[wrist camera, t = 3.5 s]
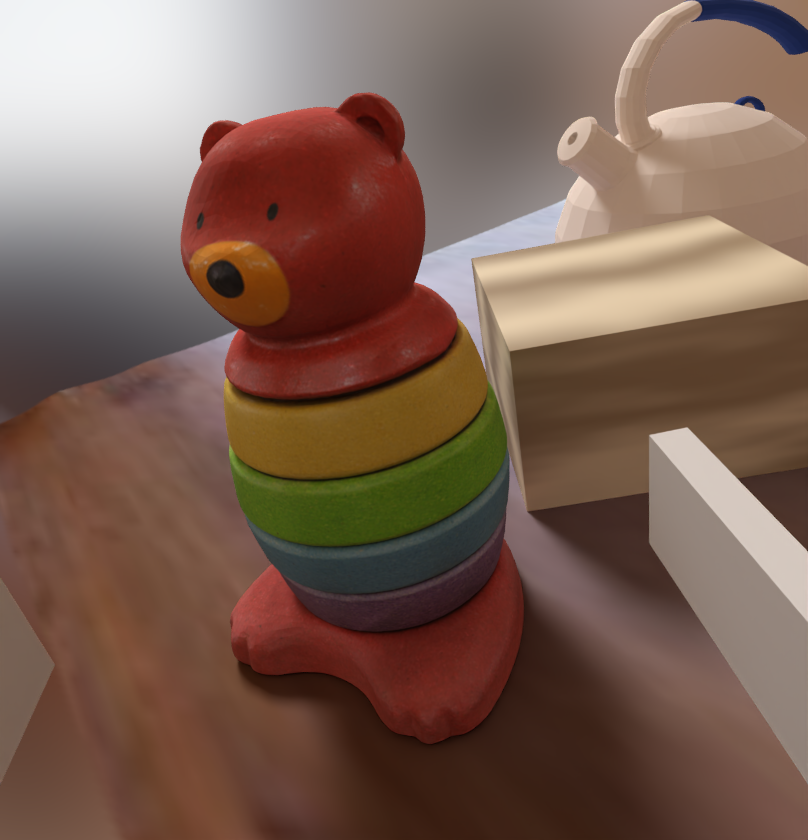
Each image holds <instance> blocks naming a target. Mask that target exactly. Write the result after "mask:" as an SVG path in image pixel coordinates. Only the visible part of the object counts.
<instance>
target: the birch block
mask: <svg viewBox="0 0 808 840" xmlns="http://www.w3.org/2000/svg"><path fill="white" fill-rule="evenodd" d="M471 260H472V268H473V275H474V283H475V291H476V298H477V306H478V314H479V321H480V329H481V336H482V344H483V352H484V359H485V367H486V375H487V380H488V381H489V382H490V384H491V386H492V387H493V389H494V392H495V395H496V398H497V401H498V404H499V407H500V410H501V414H502V417H503V421H504V425H505V429H506V433H507V447H508V451H509V454H510V457H511V460H512V464H513V467H514V470H515V473H516V477H517V480H518V483H519V486H520V490H521V493H522V496H523V499H524V503H525V506H526V509H527V511H534V510H540V509H546V508H553V507H559V506H565V505H572V504H578V503H584V502H591V501H597V500H603V499H610V498H616V497H622V496H629V495H635V494H641V493H648V492H649V435H652V434H657V433H662V432H667V431H672V430H677V429H682V428H688V429H689V430H690V431H691V432H692V433H693V434H694V435H695V436H696V437H697V438H698V439H699V440H700V441H701V442H702V443H703V444H704V445H705V446H706V447H707V448H708V449H709V450H710V451H711V452H712V453H713V454H714V455H715V456H716V457H717V458H718V459H719V460H720V461H721V463H722V464H723V465H724V466H725V467H726V468H727V469H728V470H729V471H730V472H731V473H732V474H733V475H734V476H735V477H736V478H743V477H749V476H755V475H762V474H768V473H774V472H781V471H787V470H793V469H800V468H806V467H808V266H806V265H805V264H803V263H801V262H799V261H797V260H795V259H793V258H791V257H789V256H787V255H785V254H783V253H781V252H779V251H777V250H775V249H773V248H771V247H770V246H768V245H766V244H764V243H762V242H760V241H758V240H756V239H754V238H752V237H750V236H748V235H746V234H744V233H742V232H740V231H738V230H737V229H735V228H733V227H731V226H729V225H727V224H725V223H723V222H721V221H719V220H717V219H715V218H713V217H711V216H709V215H707V216H701V217H696V218H690V219H685V220H679V221H674V222H668V223H663V224H658V225H652V226H647V227H641V228H636V229H630V230H625V231H619V232H614V233H608V234H603V235H598V236H592V237H587V238H581V239H576V240H570V241H565V242H559V243H554V244H549V245H543V246H538V247H532V248H527V249H521V250H516V251H510V252H505V253H499V254H494V255H489V256H483V257H478V258H472V259H471Z"/></svg>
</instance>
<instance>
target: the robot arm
mask: <svg viewBox="0 0 808 840" xmlns="http://www.w3.org/2000/svg"><path fill="white" fill-rule="evenodd" d="M649 544H650V545H651V547H652V548H653V550H654V551H655V553H656V554H657V556H658V557H659V559H660V560H661V562H662V563H663V565H664V567H665V568H666V570H667V571H668V573H669V574H670V576H671V577H672V579H673V580H674V582H675V583H676V585H677V586H678V588H679V589H680V591H681V592H682V594H683V595H684V597H685V598H686V600H687V601H688V603H689V604H690V606H691V607H692V609H693V611H694V612H695V614H696V615H697V617H698V618H699V620H700V621H701V623H702V624H703V626H704V627H705V629H706V630H707V632H708V633H709V635H710V636H711V638H712V639H713V641H714V642H715V644H716V645H717V647H718V648H719V650H720V652H721V653H722V655H723V656H724V658H725V659H726V661H727V662H728V664H729V665H730V667H731V668H732V670H733V671H734V673H735V674H736V676H737V677H738V679H739V680H740V682H741V683H742V685H743V686H744V688H745V689H746V691H747V692H748V694H749V696H750V697H751V699H752V700H753V702H754V703H755V705H756V706H757V708H758V709H759V711H760V712H761V714H762V715H763V717H764V718H765V720H766V721H767V723H768V724H769V726H770V727H771V729H772V730H773V732H774V733H775V735H776V736H777V738H778V740H779V741H780V743H781V744H782V746H783V747H784V749H785V750H786V752H787V753H788V755H789V756H790V758H791V759H792V761H793V762H794V764H795V765H796V767H797V768H798V770H799V771H800V773H801V774H802V776H803V777H804V779H805V780H806V782H807V784H808V551H807V550H806V549H805V548H804V547H803V546H802V545H801V544H800V543H799V542H798V541H797V540H796V539H795V538H794V537H793V536H792V535H791V534H790V533H789V532H788V531H787V529H786V528H785V527H784V526H783V525H782V524H781V523H780V522H779V521H778V520H777V519H776V518H775V517H774V516H773V515H772V514H771V513H770V512H769V511H768V510H767V509H766V508H765V507H764V506H763V505H762V504H761V503H760V502H759V501H758V500H757V499H756V498H755V497H754V495H753V494H752V493H751V492H750V491H749V490H748V489H747V488H746V487H745V486H744V485H743V484H742V483H741V482H740V481H739V480H738V479H737V478H736V477H735V476H734V475H733V474H732V473H731V472H730V471H729V470H728V469H727V468H726V467H725V466H724V465H723V464H722V463H721V461H720V460H719V459H718V458H717V457H716V456H715V455H714V454H713V453H712V452H711V451H710V450H709V449H708V448H707V447H706V446H705V445H704V444H703V443H702V442H701V441H700V440H699V439H698V438H697V437H696V436H695V435H694V434H693V433H692V432H691V431H690V430H689V429H688V428H682V429H677V430H672V431H667V432H662V433H657V434H652V435H649ZM54 666H55V664H54V663H53V661H52V659H51V658H50V656H49V655H48V653H47V651H46V650H45V648H44V647H43V645H42V643H41V642H40V640H39V639H38V637H37V636H36V634H35V632H34V631H33V629H32V627H31V626H30V624H29V623H28V621H27V619H26V618H25V616H24V615H23V613H22V611H21V610H20V608H19V607H18V605H17V604H16V602H15V600H14V599H13V597H12V595H11V594H10V592H9V590H8V589H7V587H6V586H5V584H4V583H3V581H2V579H1V578H0V784H1V781H2V780H3V777H4V775H5V773H6V771H7V768H8V766H9V764H10V762H11V760H12V758H13V755H14V753H15V751H16V749H17V747H18V744H19V742H20V740H21V738H22V736H23V734H24V731H25V729H26V727H27V725H28V722H29V720H30V718H31V716H32V714H33V712H34V709H35V707H36V705H37V703H38V701H39V698H40V696H41V694H42V692H43V690H44V687H45V685H46V683H47V681H48V679H49V676H50V674H51V672H52V670H53V668H54Z"/></svg>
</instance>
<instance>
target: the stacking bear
mask: <svg viewBox="0 0 808 840" xmlns="http://www.w3.org/2000/svg"><path fill="white" fill-rule="evenodd" d="M404 139H405V131H404V125H403V121H402V118H401V116H400V114H399V112H398V111H397V109H396V108H395V107H394V106H393V105H392V104H391V103H390V102H389V101H388V100H386V99H385V98H383V97H381V96H379V95H377V94H374V93H357V94H354V95H352V96H350V97H349V98H347V99H346V100H345V101H344V102H343V103H342V104H341V105H340V107H339V108H330V107H314V108H307V109H301V110H295V111H291V112H286V113H282V114H277V115H273V116H269V117H265V118H261V119H257V120H254V121H251V122H249V123H246V124H244V125H241V124H239V123H237V122H233V121H228V120H226V121H217V122H214V123H213V124H211V125H210V126H209V127H208V129H207V130H206V132H205V134H204V136H203V139H202V144H201V147H200V155H201V161H202V163H201V165H200V167H199V169H198V172H197V174H196V175H195V178H194V180H193V183H192V186H191V190H190V193H189V196H188V200H187V204H186V209H185V214H184V219H183V225H182V232H181V255H182V260H183V264H184V267H185V270H186V272H187V275H188V276H189V278H190V280H191V281H192V283H193V284H194V286H195V287H196V288H197V290H198V291H199V293H200V294H201V295H202V296H203V298H204V299H205V300H206V301H207V302H208V303H209V304H210V305H211V306H212V307H213V308H214V309H215V310H216V311H217V312H218V313H219V314H220V315H221V316H223V317H224V318H225V319H226V320H228V321H229V322H230V323H232V324H233V325H235V326H236V327H238V328H239V330H238V332H237V333H236V335H235V336H234V338H233V340H232V342H231V344H230V347H229V350H228V353H227V356H226V360H225V373H226V376H227V377H226V380H225V383H224V409H225V419H226V427H227V433H228V439H229V442H230V447H229V458H230V464H231V471H232V475H233V480H234V484H235V489H236V493H237V497H238V500H239V504H240V506H241V508H242V510H243V512H244V513H245V516H246V519H247V522H248V525H249V527H250V529H251V531H252V532H253V534H254V536H255V538H256V540H257V541H258V543H259V545H260V546H261V548H262V550H263V551H264V553H265V554H266V556H267V558H268V559H269V561H270V562H271V563H272V564H271V565H270V566H269V567H268V568H267V569H266V570H265V571H264V572H263V573H262V574H261V575H260V576H259V577H258V578H257V579H256V580H255V581H254V582H253V584H252V585H251V586H250V587H249V588H248V590H247V591H246V592H245V593H244V594H243V596H242V597H241V598H240V600H239V601H238V603H237V605H236V606H235V608H234V610H233V612H232V614H231V618H230V624H231V629H232V632H231V642H232V649H233V653H234V655H235V657H236V658H237V659H238V660H239V661H241V662H243V663H245V664H248V665H251V667H252V669H253V670H254V671H256V672H258V673H260V674H267V675H281V674H288V673H297V672H319V673H326V674H329V675H333V676H336V677H339V678H341V679H343V680H345V681H347V682H349V683H351V684H353V685H354V686H356V687H357V688H358V689H360V690H361V691H362V692H363V693H364V694H365V695H366V696H367V698H368V699H369V700H370V702H371V704H372V705H373V707H374V708H375V710H376V712H377V714H378V716H379V717H380V719H381V720H382V722H383V723H384V724H385V725H386V726H387V727H388V728H389V729H390V730H392V731H393V732H395V733H398V734H402V735H409V736H414V737H416V738H418V739H419V740H420V741H422V742H424V743H427V744H432V743H436V742H439V741H442V740H444V739H446V738H448V737H450V736H453V735H461V734H464V733H466V732H469V731H470V730H472V729H473V728H475V727H476V726H477V725H479V724H480V723H481V722H482V721H483V720H484V719H485V718H486V717H487V715H488V714H489V713H490V711H491V710H492V708H493V707H494V705H495V703H496V701H497V700H498V698H499V696H500V695H501V693H502V691H503V688H504V686H505V684H506V682H507V680H508V678H509V676H510V673H511V670H512V668H513V665H514V663H515V659H516V656H517V653H518V650H519V646H520V641H521V635H522V629H523V619H524V602H523V592H522V585H521V580H520V577H519V573H518V570H517V566H516V563H515V560H514V558H513V555H512V553H511V550H510V548H509V547H508V545H507V543H506V541H505V540H504V532H505V522H506V506H507V501H508V490H509V452H508V447H507V433H506V429H505V425H504V421H503V417H502V414H501V410H500V407H499V404H498V401H497V398H496V395H495V392H494V389H493V387H492V386H491V384H490V382H489V381H488V380H487V375H486V372H485V369H484V366H483V363H482V360H481V357H480V355H479V353H478V351H477V348H476V346H475V344H474V342H473V340H472V338H471V336H470V334H469V332H468V330H467V328H466V327H465V326H464V324H463V323H462V322H461V321H460V320H459V319H458V318H457V316H456V313H455V311H454V310H453V308H452V307H451V306H450V305H449V304H448V303H447V302H446V301H445V300H444V299H443V298H442V297H441V296H440V295H439V294H437V293H436V292H434V291H433V290H432V289H430V288H428V287H426V286H424V285H421V284H418V283H415V282H414V281H415V279H416V276H417V273H418V270H419V266H420V263H421V260H422V253H423V247H424V241H425V210H424V202H423V195H422V191H421V187H420V184H419V180H418V177H417V175H416V172H415V170H414V168H413V166H412V164H411V162H410V161H409V159H408V157H407V155H406V154H405V152H404V151H403V150H402V148H403V145H404Z"/></svg>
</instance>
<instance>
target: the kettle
mask: <svg viewBox="0 0 808 840" xmlns="http://www.w3.org/2000/svg"><path fill="white" fill-rule="evenodd" d="M710 19H721V20H729V21H737V22H740V23H743V24H746V25H749V26H752V27H755V28H757V29H759V30H761V31H763V32H765V33H767V34H769V35H770V36H771V37H773V38H774V39H775V40H776V41H778V42H779V43H780V45H781V46H782V47H783V48H784V49H785V51H786V52H787V53H788V54H792V55H795V54H801V53H805V52H808V30H807V29H806V28H805V27H804V26H802V25H801V24H800V23H799V22H798V21H796V19H794V18H793V17H791V16H789V15H788V14H786V13H784V12H783V11H781V10H779V9H777V8H775V7H774V6H770V5H767V4H764V3H760V2H757V1H753V0H687V1H685V2H683V3H682V4H680V5H678V6H676V7H674V8H672V9H670V10H668V11H666V12H664V13H662V14H660V15H658V16H657V17H656V18H655V19H654V20H653V21H652V23H651V24H650V25H649V26H648V27H647V28H646V29H645V31H644V32H643V33H642V34H641V35H640V36H639V38H638V39H637V40H636V41H635V42H634V44H633V46H632V48H631V50H630V52H629V55H628V56H627V58H626V60H625V62H624V64H623V67H622V69H621V72H620V77H619V82H618V86H617V90H616V95H615V112H616V113H615V115H616V125H617V128H618V131H619V134H618V135H617V136H616V137H614V136H612V135H611V134H609V133H608V132H607V131H605V130H604V129H603V128H601V127H600V126H599V125H598V124H597V121H596V119H595V118H593V117H585V118H581V119H578V120H577V121H576V122H574V123H573V124H572V125H571V126H570V127H569V128H568V129H567V130H566V132H565V133H564V135H563V136H562V138H561V140H560V143H559V145H558V151H557V155H558V159H559V162H560V164H561V165H563V166H568V167H569V168H571V169H572V170H573V171H574V172H575V173H577V174H578V175H579V177H578V179H577V180H576V182H575V184H574V185H573V186H572V188H571V189H570V191H569V193H568V196H567V199H566V202H565V205H564V208H563V211H562V214H561V217H560V220H559V223H558V226H557V229H556V234H555V243H559V242H565V241H570V240H576V239H581V238H587V237H592V236H598V235H603V234H608V233H614V232H619V231H625V230H630V229H636V228H641V227H647V226H652V225H658V224H663V223H668V222H674V221H679V220H685V219H690V218H696V217H701V216H707V215H709V216H711V217H713V218H715V219H717V220H719V221H721V222H723V223H725V224H727V225H729V226H731V227H733V228H735V229H737V230H738V231H740V232H742V233H744V234H746V235H748V236H750V237H752V238H754V239H756V240H758V241H760V242H762V243H764V244H766V245H768V246H770V247H771V248H773V249H775V250H777V251H779V252H781V253H783V254H785V255H787V256H789V257H791V258H793V259H795V260H797V261H799V262H801V263H803V264H805V265H806V266H808V138H807V137H806V136H804V135H803V134H802V133H800V132H798V131H797V130H796V129H794V128H793V127H791V126H790V125H788V124H786V123H785V122H783V121H782V120H780V119H779V118H777V117H776V116H774V115H773V114H771V113H768V112H765V107H764V105H763V103H762V102H761V101H760V100H759V99H757V98H755V97H751V96H746V97H743V98H740V99H739V100H737V101H736V102H735V103H734V104H733V103H725V102H723V103H722V102H720V103H704V104H696V105H689V106H683V107H678V108H673V109H669V110H664V111H661V112H658V113H656V114H653V115H652V116H650V117H647V107H646V91H647V86H648V81H649V77H650V72H651V69H652V66H653V64H654V62H655V60H656V58H657V56H658V54H659V52H660V50H661V48H662V46H663V44H665V42H666V41H667V40H668V39H669V38H670V37H671V36H672V35H673V34H674V32H675V31H676V30H677V29H678V28H680V27H682V26H684V25H685V24H687V23H689V22H694V21H702V20H710ZM747 102H749V103H752V104H753V105H754V107H755V109H753V108H749V107H745V106H744V104H745V103H747Z"/></svg>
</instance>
